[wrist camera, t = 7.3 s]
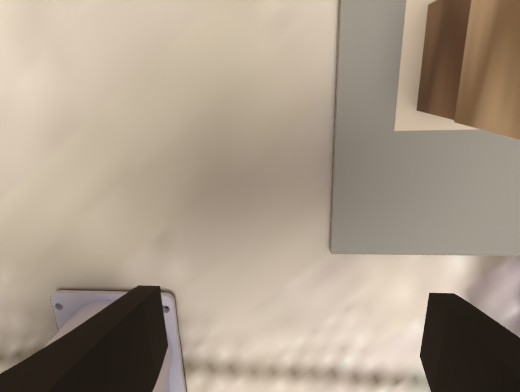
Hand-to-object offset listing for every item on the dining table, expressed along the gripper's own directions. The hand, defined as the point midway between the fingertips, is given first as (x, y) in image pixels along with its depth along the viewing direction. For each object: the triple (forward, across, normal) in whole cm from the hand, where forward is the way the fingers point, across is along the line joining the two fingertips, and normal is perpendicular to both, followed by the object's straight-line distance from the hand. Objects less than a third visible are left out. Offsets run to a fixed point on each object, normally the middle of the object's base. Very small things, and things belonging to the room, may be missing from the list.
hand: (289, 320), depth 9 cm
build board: (+10, -8, -4) cm, 14 cm away
